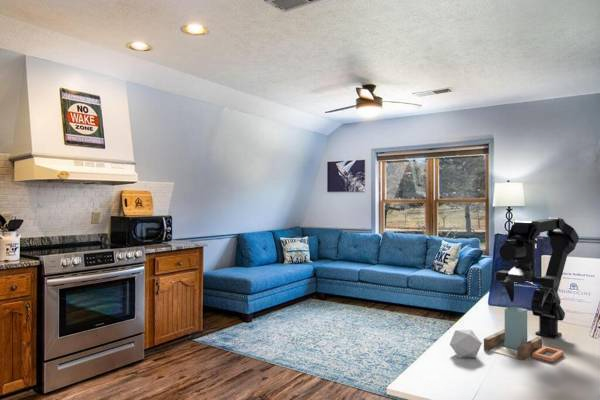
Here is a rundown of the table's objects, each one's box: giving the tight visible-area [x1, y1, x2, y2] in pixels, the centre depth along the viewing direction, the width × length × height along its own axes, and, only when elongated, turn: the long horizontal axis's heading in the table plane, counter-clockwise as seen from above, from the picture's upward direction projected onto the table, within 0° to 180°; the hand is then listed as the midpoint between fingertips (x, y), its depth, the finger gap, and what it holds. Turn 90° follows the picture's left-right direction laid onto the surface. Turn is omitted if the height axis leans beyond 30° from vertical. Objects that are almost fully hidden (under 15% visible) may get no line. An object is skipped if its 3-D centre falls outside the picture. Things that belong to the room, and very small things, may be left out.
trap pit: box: [531, 345, 565, 364], centre depth 130 cm, size 9×6×2 cm, turn 129°
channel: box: [483, 328, 543, 361], centre depth 137 cm, size 14×12×4 cm
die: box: [449, 329, 483, 359], centre depth 132 cm, size 8×9×10 cm
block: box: [504, 306, 528, 350], centre depth 139 cm, size 5×5×12 cm
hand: (526, 304), depth 143 cm, fingers open, 9 cm apart
